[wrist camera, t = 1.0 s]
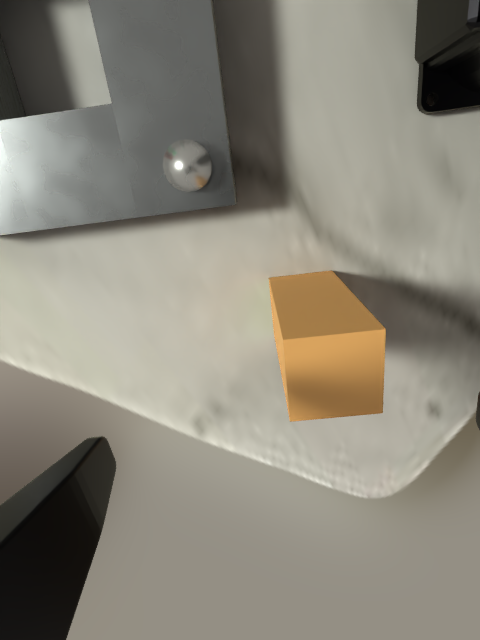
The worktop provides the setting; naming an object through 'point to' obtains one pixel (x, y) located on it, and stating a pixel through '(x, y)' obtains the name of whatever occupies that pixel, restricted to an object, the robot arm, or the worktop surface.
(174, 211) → the grey square hole plate
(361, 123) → the worktop surface
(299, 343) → the tan square peg
